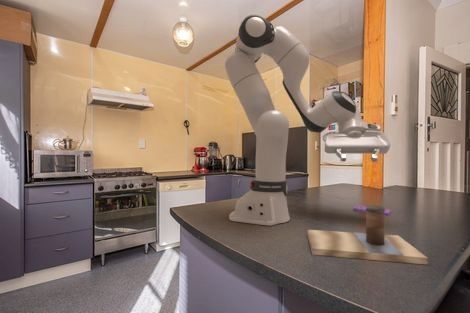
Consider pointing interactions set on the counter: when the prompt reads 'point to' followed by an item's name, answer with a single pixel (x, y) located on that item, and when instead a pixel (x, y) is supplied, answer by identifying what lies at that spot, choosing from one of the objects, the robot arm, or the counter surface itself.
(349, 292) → the counter surface
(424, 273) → the counter surface
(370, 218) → the peg
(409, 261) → the plywood board
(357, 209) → the sponges
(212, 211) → the counter surface
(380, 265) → the counter surface
